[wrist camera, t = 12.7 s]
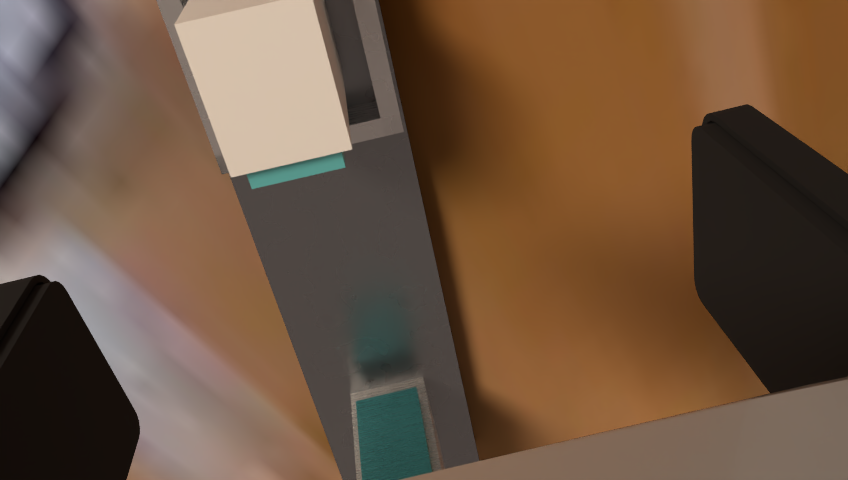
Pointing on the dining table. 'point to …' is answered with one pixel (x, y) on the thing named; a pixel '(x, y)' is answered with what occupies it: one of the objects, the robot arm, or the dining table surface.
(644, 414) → the dining table surface
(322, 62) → the cream block teal pad
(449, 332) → the rail
